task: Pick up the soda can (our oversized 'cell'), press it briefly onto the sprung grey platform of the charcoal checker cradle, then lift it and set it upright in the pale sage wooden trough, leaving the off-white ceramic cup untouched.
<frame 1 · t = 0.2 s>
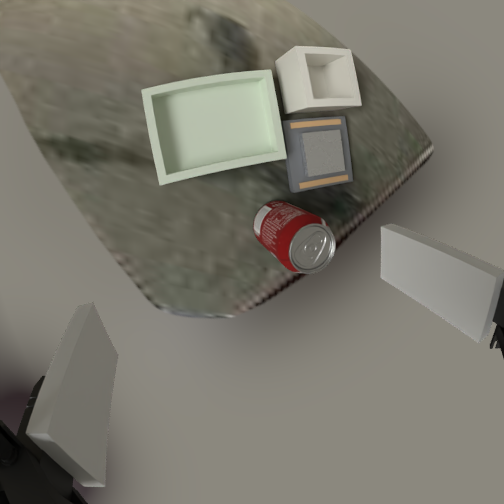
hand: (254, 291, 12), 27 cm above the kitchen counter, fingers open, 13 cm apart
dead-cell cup: (305, 86, 35), on the kitchen counter
trough: (212, 124, 34), on the kitchen counter
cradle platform: (323, 152, 37), point 2 cm above the kitchen counter, slide at -0.8 cm
soda can: (274, 222, 41), on the kitchen counter
checker cradle: (316, 152, 39), on the kitchen counter
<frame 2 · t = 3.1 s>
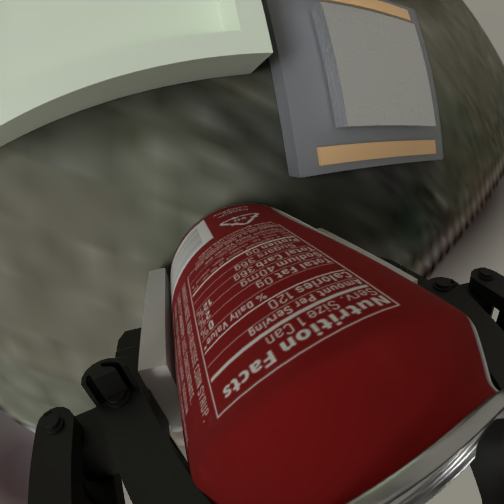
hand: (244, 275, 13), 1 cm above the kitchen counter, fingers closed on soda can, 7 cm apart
trough: (67, 8, 7), on the kitchen counter
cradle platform: (381, 66, 10), point 2 cm above the kitchen counter, slide at -0.8 cm
soda can: (240, 270, 14), on the kitchen counter, touching gripper
checker cradle: (359, 73, 12), on the kitchen counter
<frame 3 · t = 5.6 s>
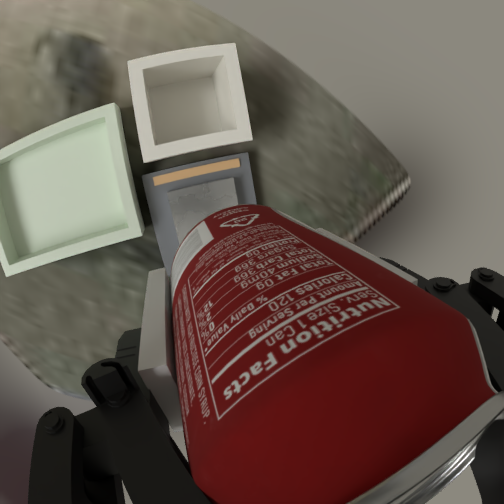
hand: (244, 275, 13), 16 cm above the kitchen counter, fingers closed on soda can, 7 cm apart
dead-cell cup: (184, 112, 24), on the kitchen counter
trough: (57, 191, 23), on the kitchen counter
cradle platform: (206, 216, 26), point 2 cm above the kitchen counter, slide at -0.8 cm
soda can: (240, 270, 14), point 15 cm above the kitchen counter, touching gripper
checker cradle: (204, 212, 28), on the kitchen counter
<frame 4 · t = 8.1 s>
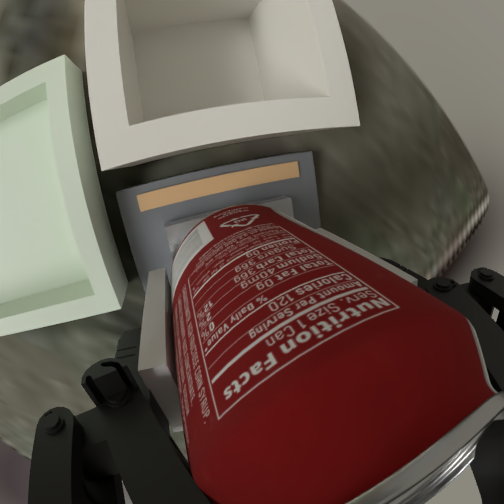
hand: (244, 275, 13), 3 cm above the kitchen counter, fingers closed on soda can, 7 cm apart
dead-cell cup: (197, 76, 13), on the kitchen counter
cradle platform: (239, 268, 14), point 2 cm above the kitchen counter, slide at -0.8 cm
soda can: (240, 270, 14), point 2 cm above the kitchen counter, touching gripper
checker cradle: (231, 256, 16), on the kitchen counter
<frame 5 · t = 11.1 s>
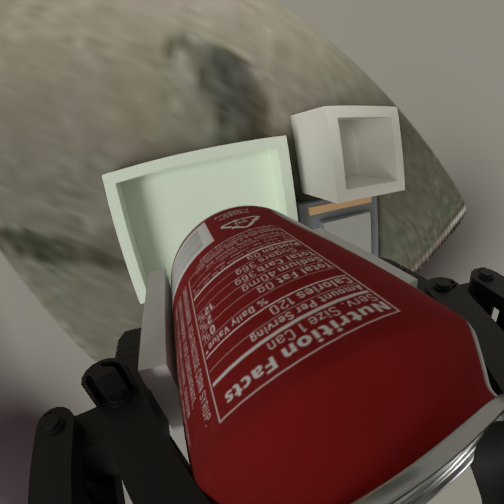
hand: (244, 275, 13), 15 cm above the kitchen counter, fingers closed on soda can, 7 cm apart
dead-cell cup: (329, 149, 28), on the kitchen counter
trough: (205, 213, 27), on the kitchen counter
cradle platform: (347, 242, 30), point 2 cm above the kitchen counter, slide at -0.8 cm
soda can: (241, 271, 14), point 14 cm above the kitchen counter, touching gripper
checker cradle: (338, 238, 32), on the kitchen counter
when the fingers open (3 cm above the kitchen counter, at t = 13.4 s): soda can drops 2 cm, resting on trough.
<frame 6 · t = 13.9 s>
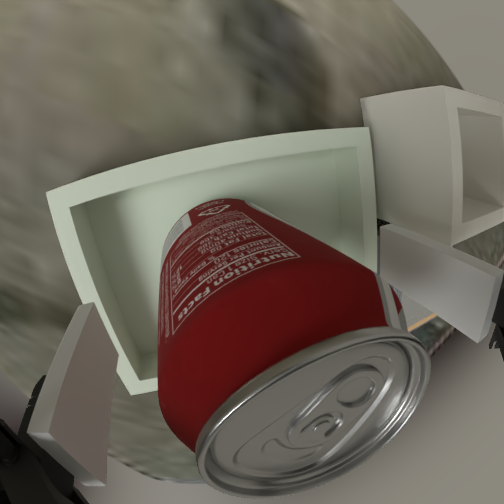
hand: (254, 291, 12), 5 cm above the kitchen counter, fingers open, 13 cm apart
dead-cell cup: (408, 154, 18), on the kitchen counter
trough: (229, 252, 17), on the kitchen counter
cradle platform: (423, 285, 20), point 2 cm above the kitchen counter, slide at -0.8 cm
soda can: (222, 256, 16), resting on trough
checker cradle: (408, 277, 21), on the kitchen counter
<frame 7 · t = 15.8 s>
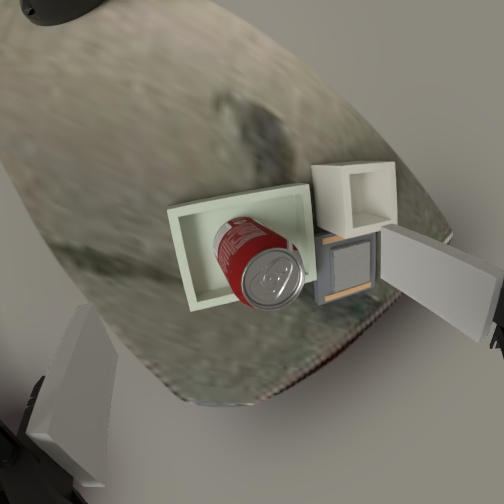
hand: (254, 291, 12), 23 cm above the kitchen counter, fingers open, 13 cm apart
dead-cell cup: (340, 192, 37), on the kitchen counter
trough: (243, 241, 35), on the kitchen counter
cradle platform: (350, 265, 38), point 2 cm above the kitchen counter, slide at -0.8 cm
soda can: (240, 243, 35), resting on trough
checker cradle: (343, 261, 40), on the kitchen counter
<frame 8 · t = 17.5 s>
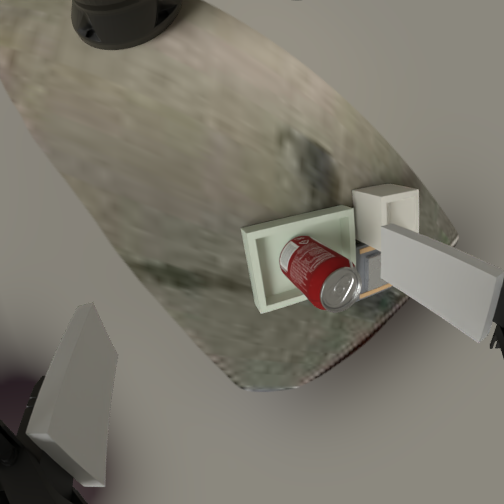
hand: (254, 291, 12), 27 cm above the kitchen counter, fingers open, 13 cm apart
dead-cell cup: (373, 210, 44), on the kitchen counter
trough: (299, 254, 43), on the kitchen counter
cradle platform: (380, 269, 46), point 2 cm above the kitchen counter, slide at -0.8 cm
soda can: (298, 255, 42), resting on trough
checker cradle: (374, 265, 48), on the kitchen counter
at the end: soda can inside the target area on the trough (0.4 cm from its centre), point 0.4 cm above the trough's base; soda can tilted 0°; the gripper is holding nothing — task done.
